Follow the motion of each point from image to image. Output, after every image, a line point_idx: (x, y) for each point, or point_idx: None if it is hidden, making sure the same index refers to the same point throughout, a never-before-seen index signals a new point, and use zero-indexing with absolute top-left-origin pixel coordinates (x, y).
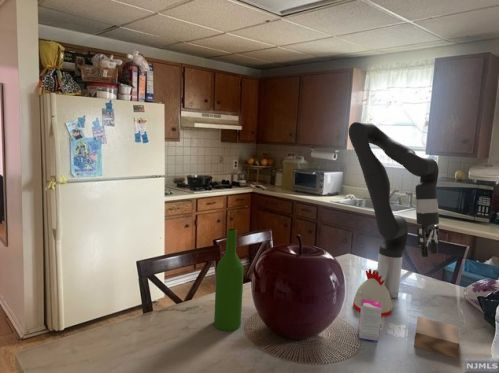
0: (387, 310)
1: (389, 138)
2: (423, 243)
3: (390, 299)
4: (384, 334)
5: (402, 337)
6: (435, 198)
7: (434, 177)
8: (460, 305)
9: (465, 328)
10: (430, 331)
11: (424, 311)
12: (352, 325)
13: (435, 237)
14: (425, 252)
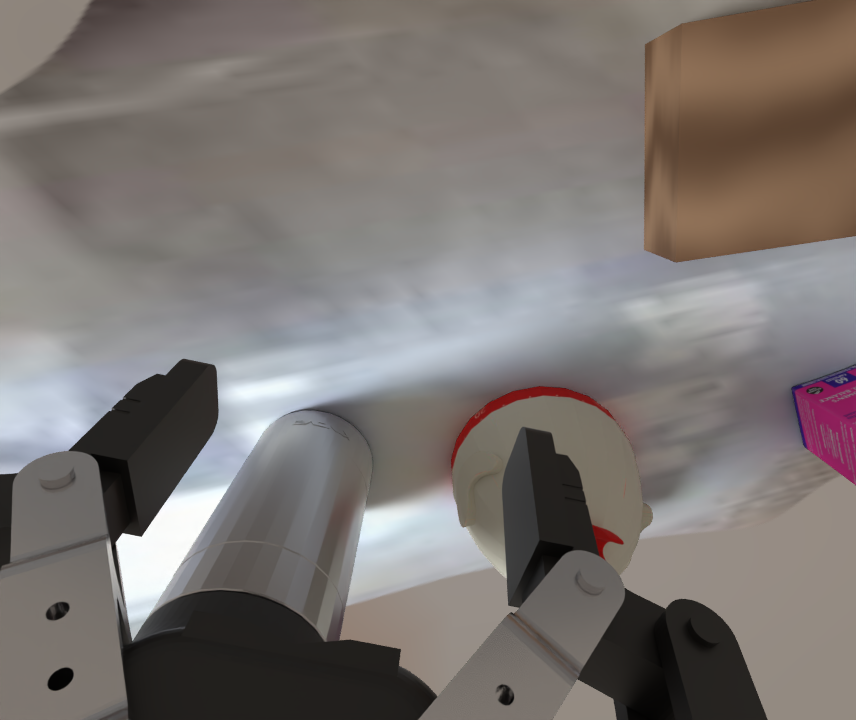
0: (588, 407)
1: None
2: (732, 658)
3: (537, 429)
4: (778, 355)
5: (766, 284)
6: None
7: None
8: (122, 87)
9: (459, 12)
10: (841, 162)
11: (391, 258)
12: (762, 476)
13: (116, 592)
14: (580, 493)
